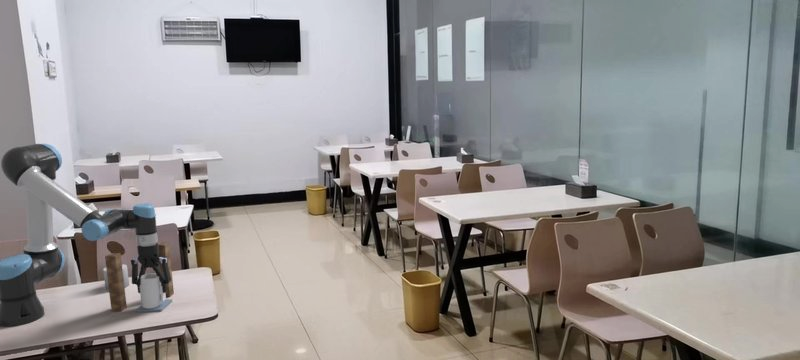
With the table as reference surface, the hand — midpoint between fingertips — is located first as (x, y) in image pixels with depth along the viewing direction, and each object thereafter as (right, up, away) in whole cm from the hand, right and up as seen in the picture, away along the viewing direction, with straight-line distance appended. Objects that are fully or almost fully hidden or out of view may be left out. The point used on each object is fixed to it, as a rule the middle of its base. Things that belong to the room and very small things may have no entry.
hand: (153, 300), depth 228 cm
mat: (0, -2, 0) cm, 2 cm away
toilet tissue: (-26, +1, +26) cm, 37 cm away
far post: (0, 0, +12) cm, 12 cm away
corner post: (-13, -3, -1) cm, 13 cm away
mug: (0, -2, 0) cm, 2 cm away
